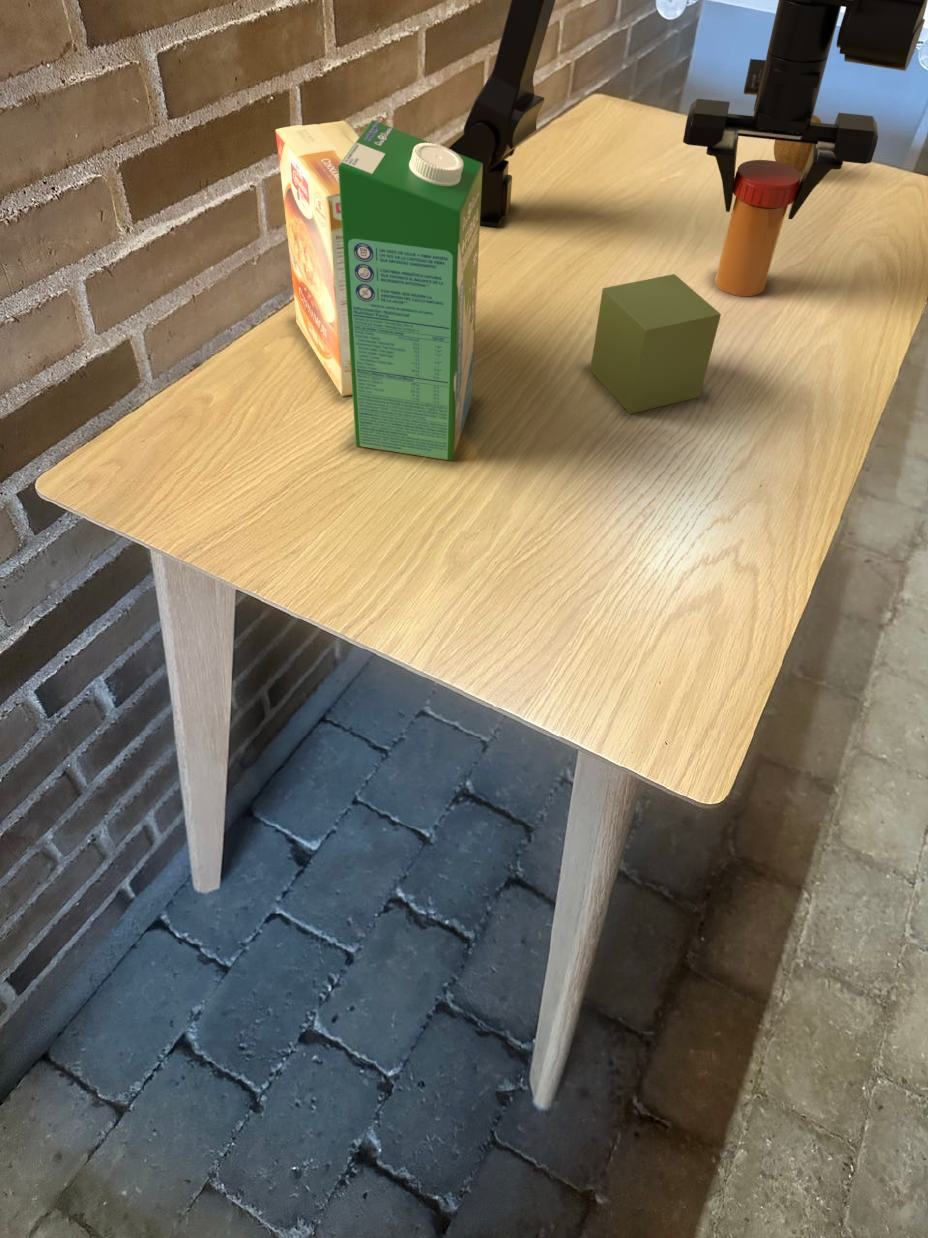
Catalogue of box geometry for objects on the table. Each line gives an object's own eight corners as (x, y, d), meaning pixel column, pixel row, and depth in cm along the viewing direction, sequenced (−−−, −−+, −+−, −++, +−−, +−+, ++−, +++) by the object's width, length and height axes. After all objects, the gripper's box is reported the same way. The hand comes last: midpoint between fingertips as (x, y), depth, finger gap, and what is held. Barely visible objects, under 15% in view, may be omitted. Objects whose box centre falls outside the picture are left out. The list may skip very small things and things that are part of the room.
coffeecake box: (294, 322, 99) (272, 126, 85) (357, 310, 101) (347, 117, 87) (339, 398, 90) (324, 194, 76) (408, 383, 92) (406, 182, 78)
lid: (794, 212, 98) (800, 189, 96) (729, 202, 99) (735, 180, 97) (795, 186, 102) (802, 164, 100) (734, 177, 103) (739, 155, 101)
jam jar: (713, 291, 107) (739, 185, 98) (716, 269, 110) (742, 164, 101) (762, 299, 106) (794, 192, 97) (764, 276, 110) (795, 171, 101)
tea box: (589, 370, 95) (602, 287, 88) (657, 355, 97) (674, 273, 91) (629, 414, 90) (646, 330, 83) (699, 397, 92) (721, 314, 86)
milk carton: (452, 461, 84) (461, 178, 66) (355, 446, 85) (337, 163, 67) (471, 404, 90) (484, 130, 72) (380, 391, 91) (370, 117, 73)
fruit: (812, 167, 131) (831, 105, 125) (812, 185, 127) (831, 122, 121) (767, 161, 132) (783, 99, 126) (766, 179, 128) (782, 116, 122)
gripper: (894, 37, 94) (846, 194, 106) (707, 20, 97) (680, 175, 109) (900, 72, 87) (848, 237, 98) (697, 53, 90) (670, 215, 101)
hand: (759, 213), depth 102 cm, fingers closed on lid, 6 cm apart
